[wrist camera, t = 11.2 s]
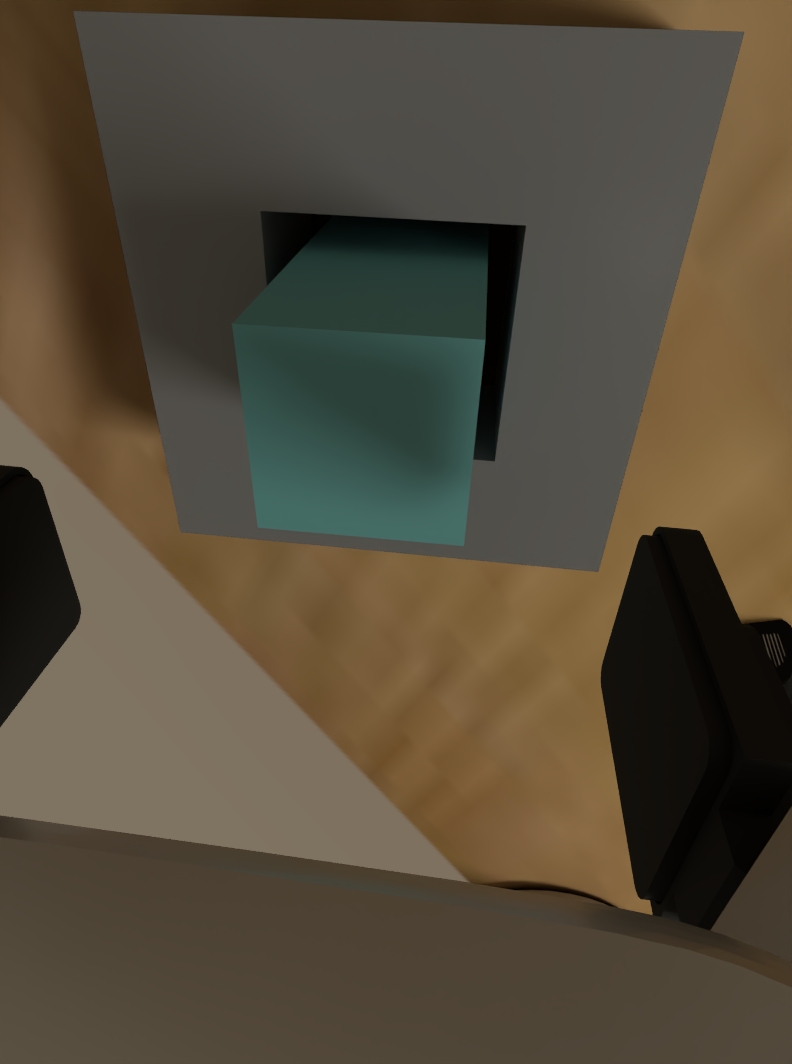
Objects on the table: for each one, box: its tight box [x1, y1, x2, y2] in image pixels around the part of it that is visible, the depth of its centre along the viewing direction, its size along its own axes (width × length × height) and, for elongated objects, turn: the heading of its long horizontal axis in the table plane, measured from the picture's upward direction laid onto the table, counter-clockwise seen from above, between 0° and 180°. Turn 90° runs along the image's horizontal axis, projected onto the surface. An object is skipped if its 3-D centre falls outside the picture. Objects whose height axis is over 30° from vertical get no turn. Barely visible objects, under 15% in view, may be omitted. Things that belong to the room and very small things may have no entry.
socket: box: [73, 11, 744, 572], centre depth 19 cm, size 13×13×5 cm
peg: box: [232, 215, 489, 546], centre depth 17 cm, size 4×4×10 cm
